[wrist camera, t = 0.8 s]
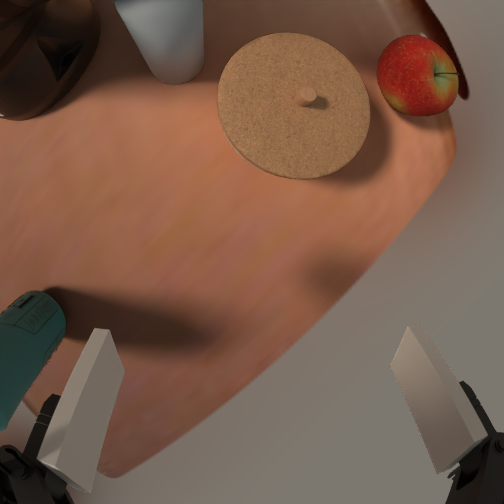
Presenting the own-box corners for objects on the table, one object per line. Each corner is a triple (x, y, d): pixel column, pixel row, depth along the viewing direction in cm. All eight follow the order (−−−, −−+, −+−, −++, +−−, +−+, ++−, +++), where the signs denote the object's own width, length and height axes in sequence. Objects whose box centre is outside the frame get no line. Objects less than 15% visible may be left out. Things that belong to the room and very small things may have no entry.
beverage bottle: (51, 273, 25) (-76, 389, 6) (85, 326, 27) (0, 475, 8) (17, 296, 24) (-90, 401, 5) (48, 344, 26) (-31, 470, 7)
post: (146, 48, 21) (111, -23, 9) (198, 34, 21) (194, -46, 10) (155, 91, 22) (118, 32, 11) (210, 76, 23) (210, 6, 11)
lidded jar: (333, 80, 24) (385, 48, 15) (323, 185, 27) (376, 193, 18) (222, 59, 22) (231, 8, 13) (207, 170, 25) (207, 168, 16)
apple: (408, 54, 24) (466, 30, 14) (426, 119, 26) (491, 111, 17) (350, 51, 23) (405, 14, 14) (371, 123, 26) (437, 109, 16)
